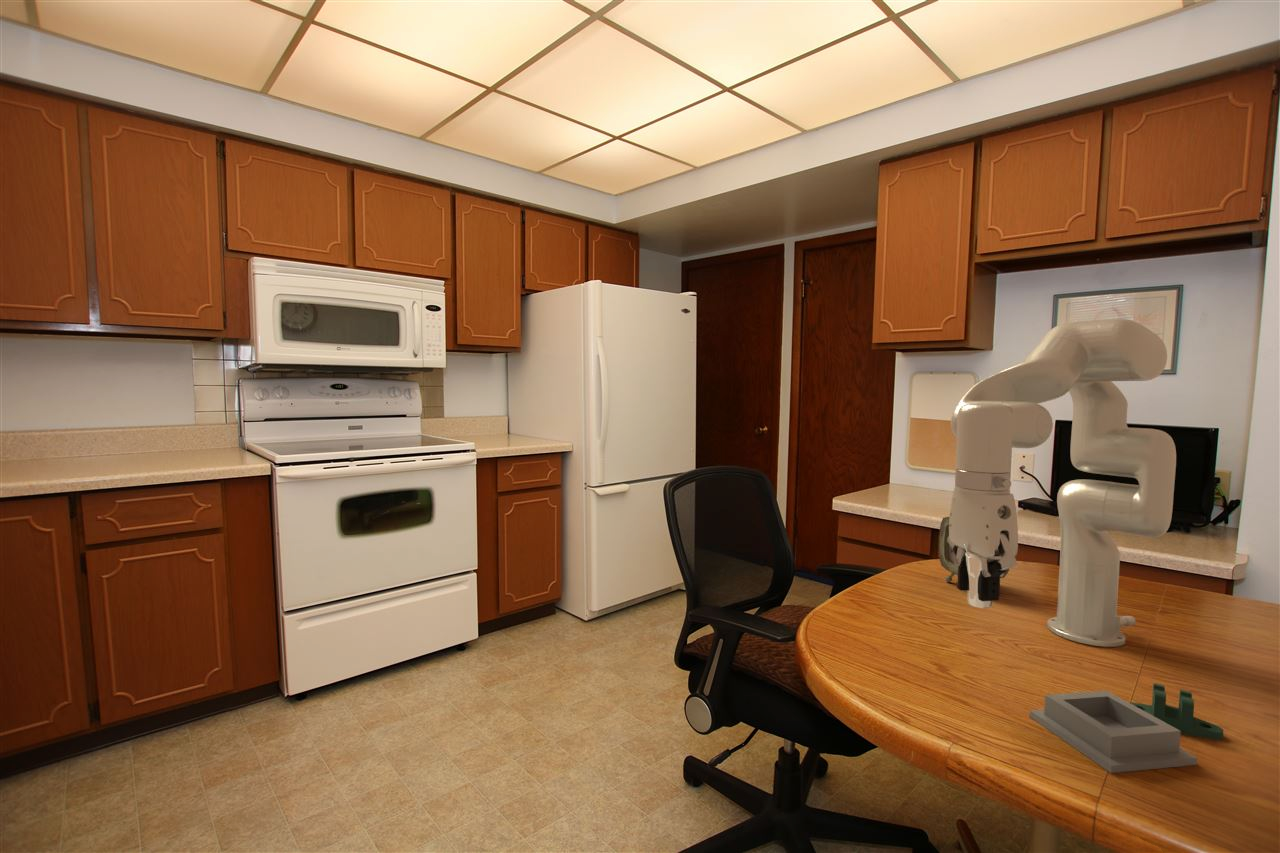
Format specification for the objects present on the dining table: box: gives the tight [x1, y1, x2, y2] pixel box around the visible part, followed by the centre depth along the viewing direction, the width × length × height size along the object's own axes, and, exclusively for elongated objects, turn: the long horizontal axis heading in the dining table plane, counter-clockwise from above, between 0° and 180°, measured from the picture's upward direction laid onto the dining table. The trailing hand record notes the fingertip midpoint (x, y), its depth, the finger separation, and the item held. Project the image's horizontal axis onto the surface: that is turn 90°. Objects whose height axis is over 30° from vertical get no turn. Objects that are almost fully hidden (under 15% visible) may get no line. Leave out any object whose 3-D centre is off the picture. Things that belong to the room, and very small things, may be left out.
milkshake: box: [963, 544, 995, 609], centre depth 92 cm, size 4×5×10 cm
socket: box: [1029, 690, 1198, 774], centre depth 82 cm, size 13×13×4 cm
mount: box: [1128, 682, 1224, 741], centre depth 86 cm, size 11×4×5 cm, turn 51°
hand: (977, 593), depth 92 cm, fingers closed on milkshake, 4 cm apart
